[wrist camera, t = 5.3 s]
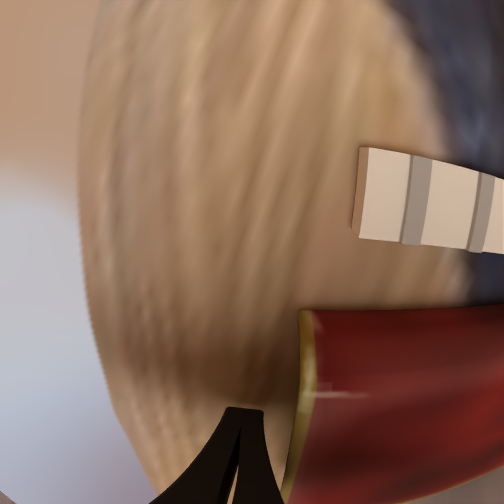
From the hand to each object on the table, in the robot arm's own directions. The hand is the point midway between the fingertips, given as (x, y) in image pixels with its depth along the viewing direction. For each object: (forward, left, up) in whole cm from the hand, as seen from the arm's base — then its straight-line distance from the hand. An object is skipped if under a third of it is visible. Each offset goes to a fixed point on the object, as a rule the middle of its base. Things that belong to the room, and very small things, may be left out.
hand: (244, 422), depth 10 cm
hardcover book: (-12, +1, -2) cm, 12 cm away
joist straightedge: (-9, -9, -1) cm, 13 cm away
